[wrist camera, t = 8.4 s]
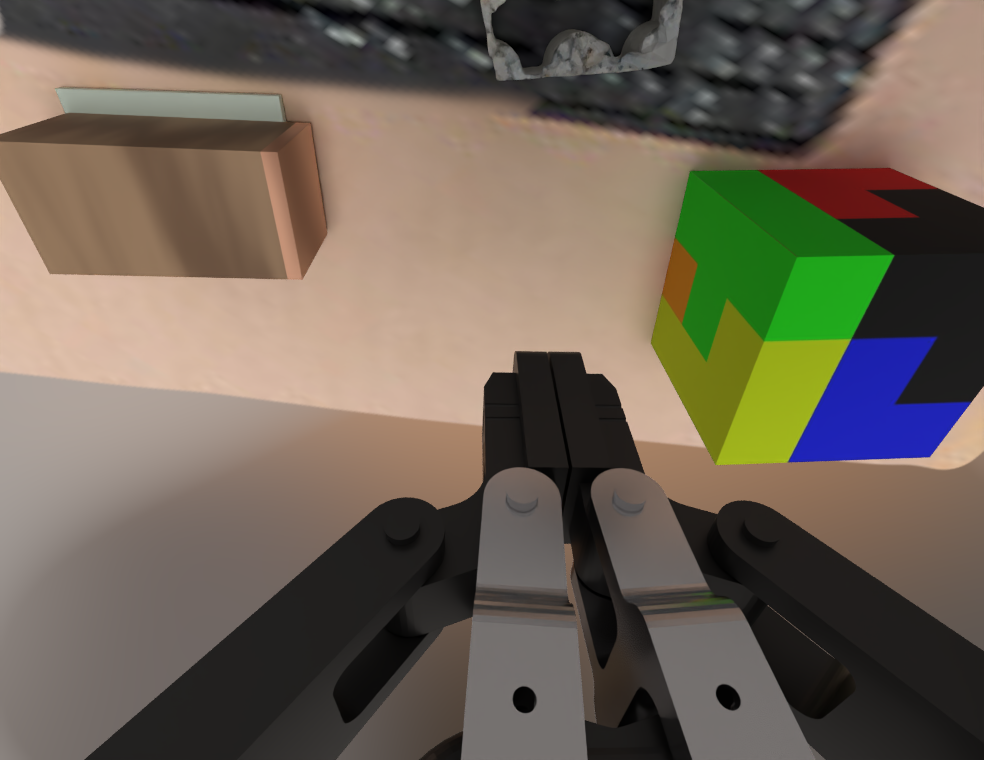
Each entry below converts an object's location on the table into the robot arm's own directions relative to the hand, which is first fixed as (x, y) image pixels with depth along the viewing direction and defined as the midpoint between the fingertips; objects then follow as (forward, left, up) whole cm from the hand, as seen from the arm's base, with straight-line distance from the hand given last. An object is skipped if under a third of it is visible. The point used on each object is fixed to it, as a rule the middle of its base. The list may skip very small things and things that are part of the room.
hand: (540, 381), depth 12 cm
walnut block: (+8, 0, -13) cm, 15 cm away
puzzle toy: (-14, +4, -16) cm, 22 cm away
